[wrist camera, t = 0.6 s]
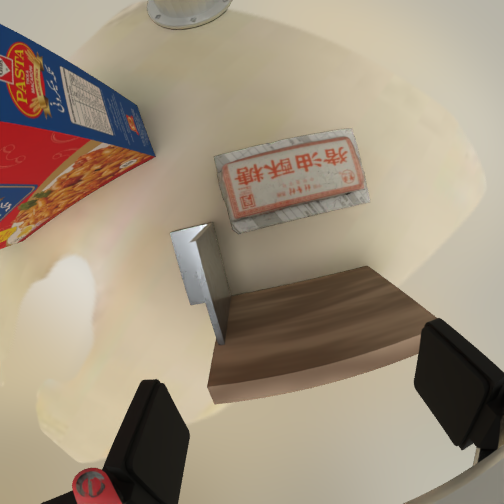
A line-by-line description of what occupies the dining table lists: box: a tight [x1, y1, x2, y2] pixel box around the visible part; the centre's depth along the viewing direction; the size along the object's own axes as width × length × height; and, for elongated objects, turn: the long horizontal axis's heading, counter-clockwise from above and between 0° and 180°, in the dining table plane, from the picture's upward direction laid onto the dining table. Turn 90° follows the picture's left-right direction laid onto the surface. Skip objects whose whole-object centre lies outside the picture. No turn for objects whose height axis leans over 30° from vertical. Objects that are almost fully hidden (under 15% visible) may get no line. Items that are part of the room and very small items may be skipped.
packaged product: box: [214, 128, 370, 234], centre depth 31 cm, size 18×5×10 cm
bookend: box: [170, 222, 231, 345], centre depth 30 cm, size 10×6×12 cm, turn 12°
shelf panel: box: [207, 266, 437, 404], centre depth 28 cm, size 2×20×18 cm, turn 102°
